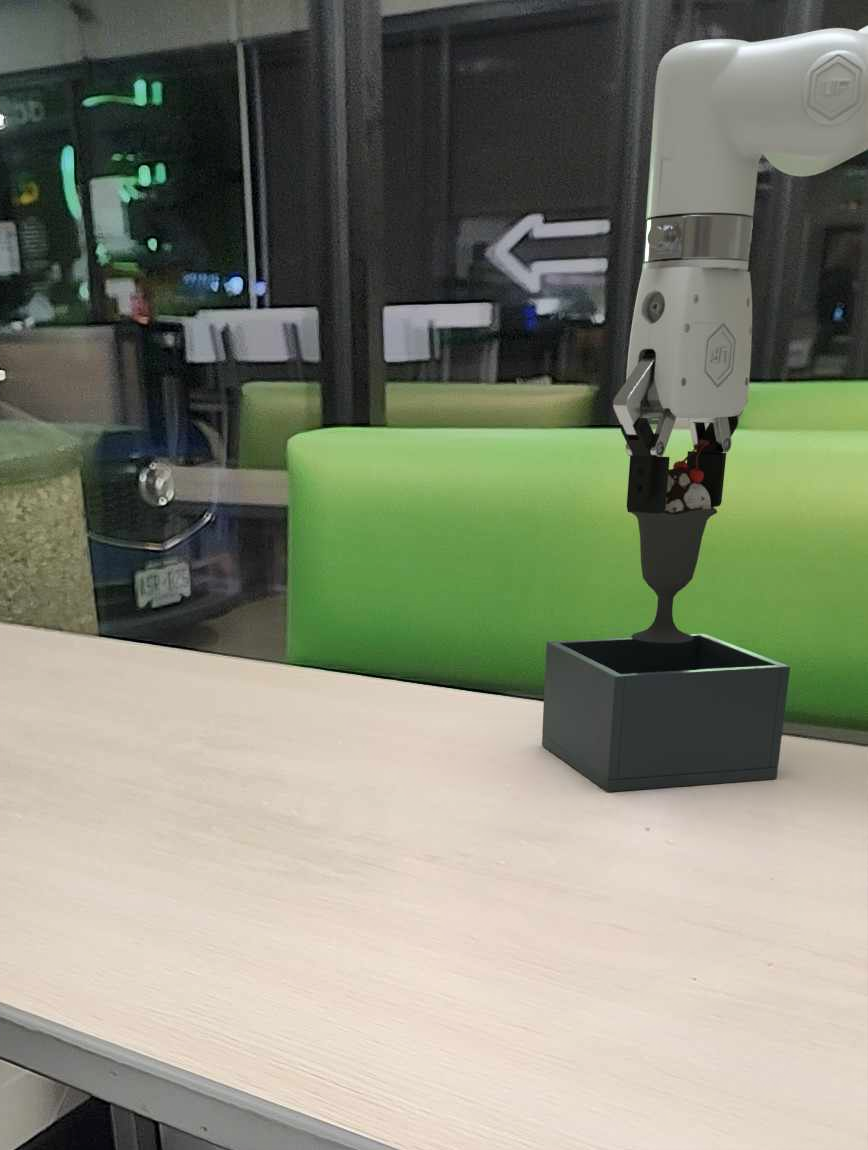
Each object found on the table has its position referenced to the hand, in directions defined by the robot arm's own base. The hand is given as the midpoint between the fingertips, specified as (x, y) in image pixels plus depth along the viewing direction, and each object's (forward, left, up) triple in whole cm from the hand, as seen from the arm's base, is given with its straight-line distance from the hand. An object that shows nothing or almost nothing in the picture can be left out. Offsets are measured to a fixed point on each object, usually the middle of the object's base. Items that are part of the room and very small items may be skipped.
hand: (674, 506), depth 103 cm
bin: (0, 0, -20) cm, 20 cm away
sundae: (0, 0, -10) cm, 10 cm away
